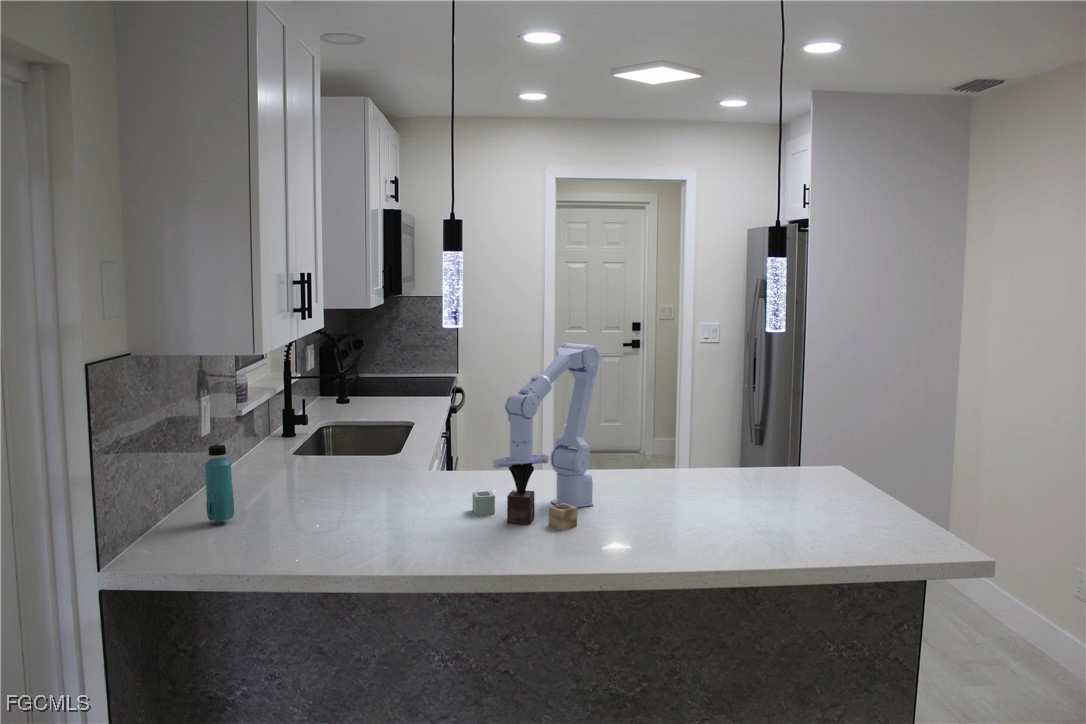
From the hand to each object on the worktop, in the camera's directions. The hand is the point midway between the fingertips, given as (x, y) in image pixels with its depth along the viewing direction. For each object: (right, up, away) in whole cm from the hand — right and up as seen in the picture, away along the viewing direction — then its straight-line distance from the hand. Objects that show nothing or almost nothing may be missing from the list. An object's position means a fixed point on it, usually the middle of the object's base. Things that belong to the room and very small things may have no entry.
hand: (520, 493), depth 218 cm
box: (0, -8, +1) cm, 8 cm away
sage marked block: (-10, -6, +8) cm, 15 cm away
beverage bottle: (-76, -7, -2) cm, 76 cm away
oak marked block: (+11, -8, -3) cm, 14 cm away
